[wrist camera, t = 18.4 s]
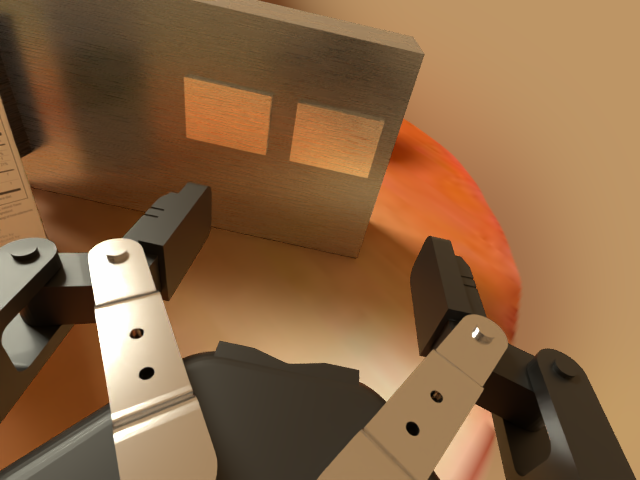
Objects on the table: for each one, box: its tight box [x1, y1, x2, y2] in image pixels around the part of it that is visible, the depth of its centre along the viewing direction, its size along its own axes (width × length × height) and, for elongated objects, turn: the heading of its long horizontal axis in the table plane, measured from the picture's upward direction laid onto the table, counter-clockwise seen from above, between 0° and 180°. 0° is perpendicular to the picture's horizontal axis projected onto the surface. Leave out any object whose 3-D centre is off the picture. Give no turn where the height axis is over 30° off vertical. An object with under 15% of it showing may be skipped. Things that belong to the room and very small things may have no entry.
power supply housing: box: [0, 0, 424, 258], centre depth 24 cm, size 26×8×14 cm, turn 84°
